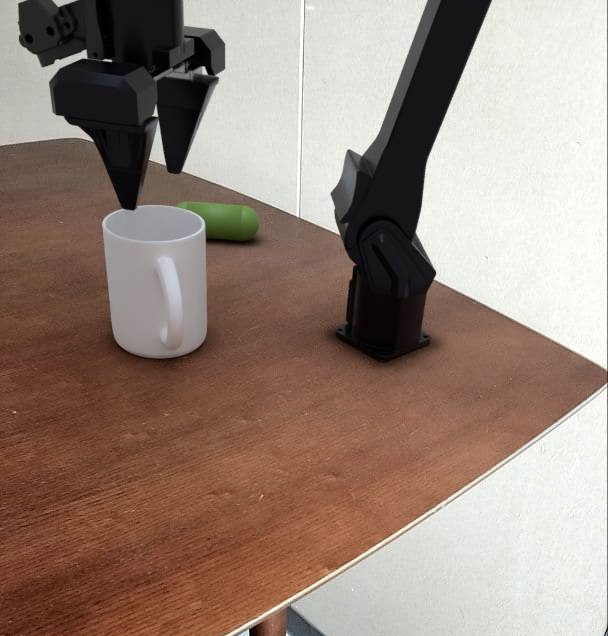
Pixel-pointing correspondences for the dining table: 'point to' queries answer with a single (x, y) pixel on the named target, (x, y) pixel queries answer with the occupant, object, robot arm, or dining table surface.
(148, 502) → the dining table surface
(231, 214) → the pickle
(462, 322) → the dining table surface
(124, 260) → the mug
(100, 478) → the dining table surface
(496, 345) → the dining table surface
